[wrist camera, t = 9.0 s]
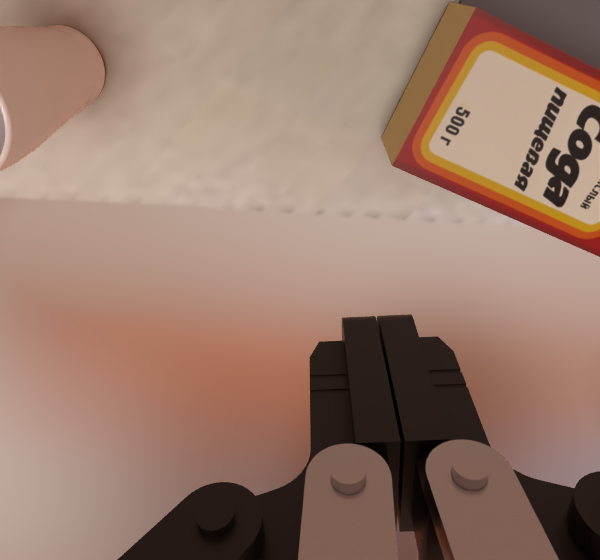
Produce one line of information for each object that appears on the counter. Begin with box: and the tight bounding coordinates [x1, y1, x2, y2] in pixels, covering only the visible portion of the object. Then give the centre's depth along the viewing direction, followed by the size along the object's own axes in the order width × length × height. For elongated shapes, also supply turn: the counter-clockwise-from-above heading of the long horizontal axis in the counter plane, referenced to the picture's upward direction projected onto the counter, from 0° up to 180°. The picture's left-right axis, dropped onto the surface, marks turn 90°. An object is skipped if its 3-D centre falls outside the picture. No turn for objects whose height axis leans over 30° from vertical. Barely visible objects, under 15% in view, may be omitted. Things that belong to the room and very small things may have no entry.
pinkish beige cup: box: [0, 25, 105, 171], centre depth 31 cm, size 7×7×15 cm
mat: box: [459, 0, 600, 71], centre depth 36 cm, size 12×11×1 cm
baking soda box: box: [381, 2, 600, 257], centre depth 35 cm, size 10×6×16 cm
